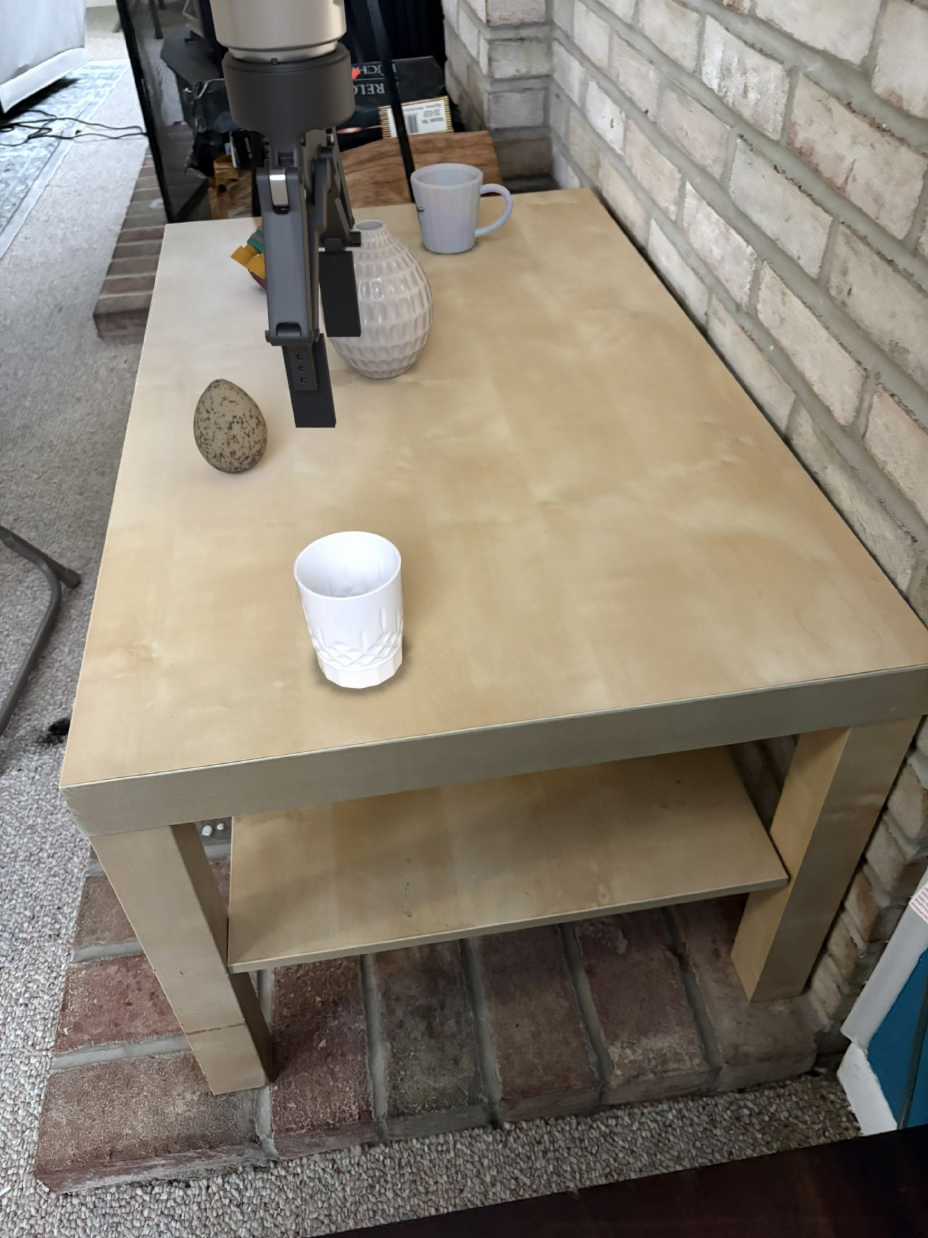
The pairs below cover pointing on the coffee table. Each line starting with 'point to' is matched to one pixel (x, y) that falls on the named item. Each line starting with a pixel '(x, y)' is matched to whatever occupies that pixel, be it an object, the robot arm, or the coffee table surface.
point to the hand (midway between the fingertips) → (331, 377)
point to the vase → (386, 305)
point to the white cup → (353, 606)
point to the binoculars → (253, 257)
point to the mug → (453, 206)
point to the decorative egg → (229, 428)
